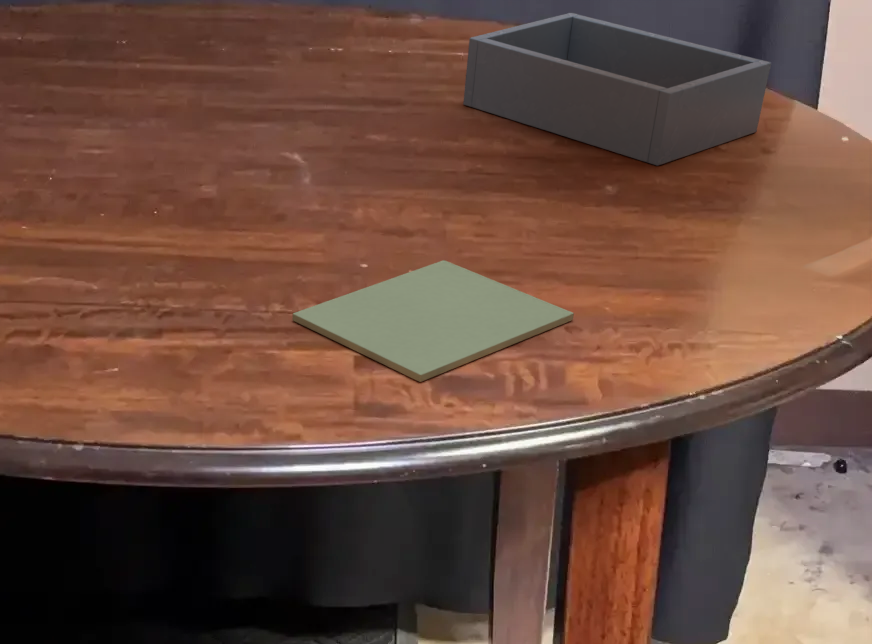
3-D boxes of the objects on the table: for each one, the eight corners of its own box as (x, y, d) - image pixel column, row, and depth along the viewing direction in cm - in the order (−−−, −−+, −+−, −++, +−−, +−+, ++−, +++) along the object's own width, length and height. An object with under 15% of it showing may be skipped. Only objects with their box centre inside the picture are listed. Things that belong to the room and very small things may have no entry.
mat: (573, 320, 76) (574, 312, 76) (420, 382, 71) (420, 374, 70) (443, 266, 82) (443, 259, 82) (292, 320, 76) (292, 313, 76)
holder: (757, 132, 100) (771, 62, 98) (657, 166, 95) (670, 93, 92) (562, 76, 111) (570, 12, 108) (462, 104, 105) (469, 37, 103)
